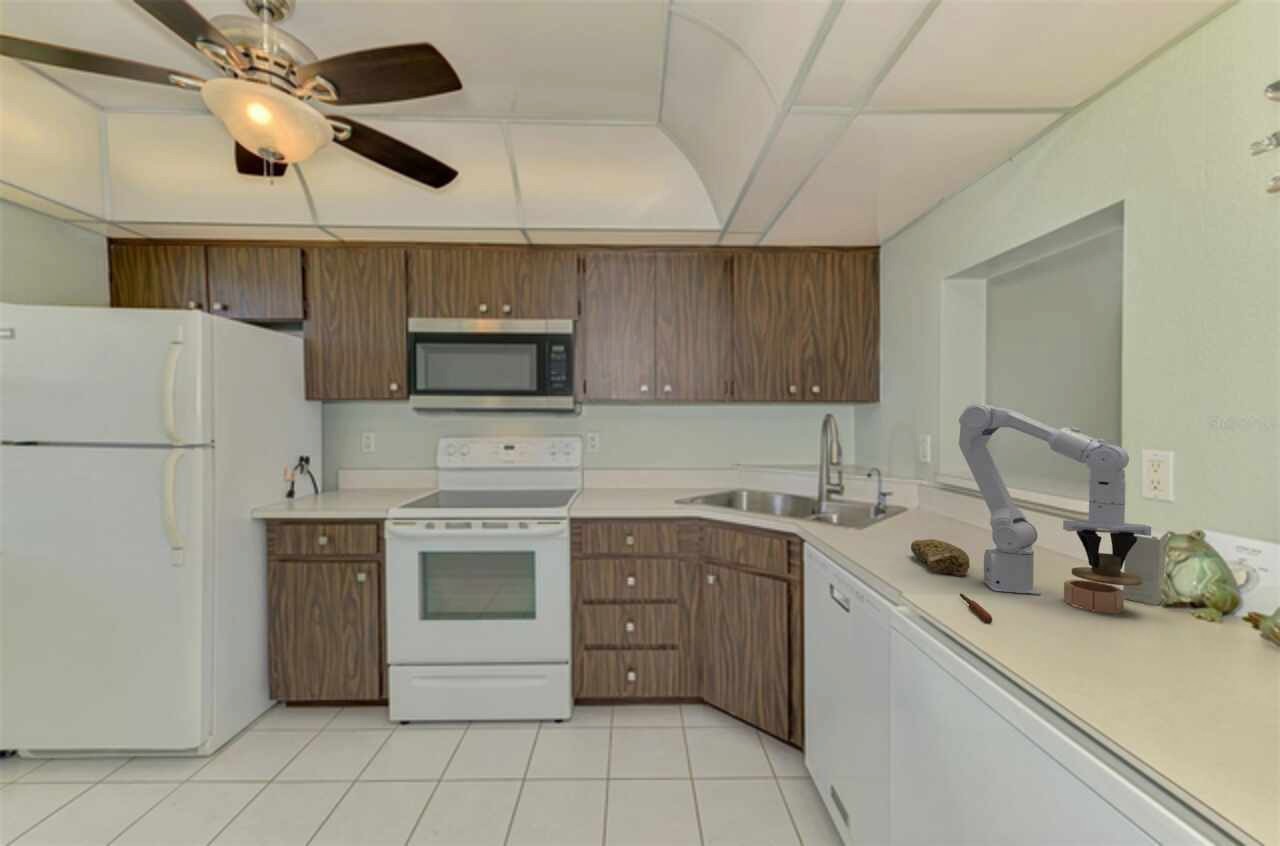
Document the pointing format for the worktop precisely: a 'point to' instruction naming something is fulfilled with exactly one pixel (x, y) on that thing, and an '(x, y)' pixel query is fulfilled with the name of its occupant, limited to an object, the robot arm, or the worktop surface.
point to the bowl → (1094, 596)
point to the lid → (1107, 572)
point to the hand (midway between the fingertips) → (1105, 567)
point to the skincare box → (1146, 568)
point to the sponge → (941, 556)
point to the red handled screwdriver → (977, 609)
